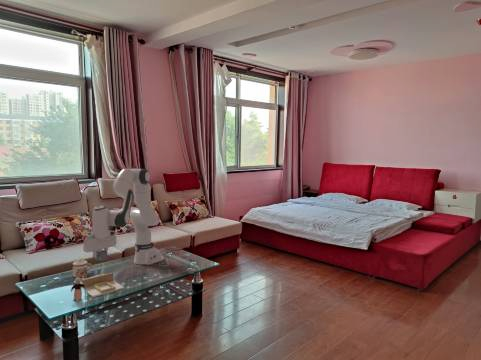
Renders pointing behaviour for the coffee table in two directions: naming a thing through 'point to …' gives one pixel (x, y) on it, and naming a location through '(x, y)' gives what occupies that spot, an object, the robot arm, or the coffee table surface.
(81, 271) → the teacup with lid
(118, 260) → the coffee table surface
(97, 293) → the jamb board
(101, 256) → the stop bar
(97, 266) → the coffee table surface
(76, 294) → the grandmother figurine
